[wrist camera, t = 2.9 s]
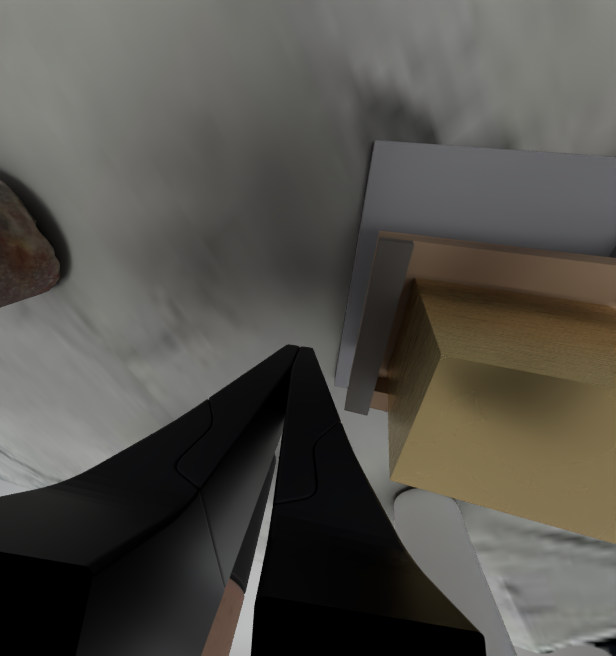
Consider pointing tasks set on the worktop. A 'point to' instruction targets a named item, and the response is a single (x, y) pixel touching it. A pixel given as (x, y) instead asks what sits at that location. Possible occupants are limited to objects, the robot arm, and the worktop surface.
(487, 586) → the drinking glass
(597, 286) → the beam
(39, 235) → the candle
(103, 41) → the worktop surface
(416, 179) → the stand
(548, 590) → the worktop surface
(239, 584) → the travel mug
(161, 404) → the worktop surface
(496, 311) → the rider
